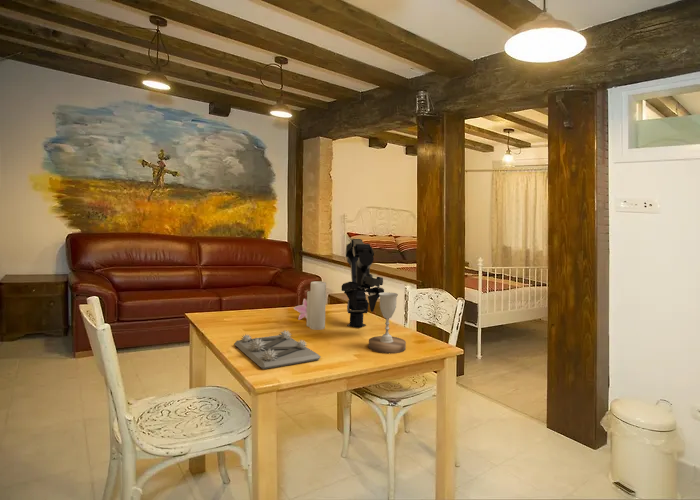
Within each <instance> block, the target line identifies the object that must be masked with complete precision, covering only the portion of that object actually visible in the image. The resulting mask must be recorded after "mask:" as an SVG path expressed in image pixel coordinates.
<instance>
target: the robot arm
mask: <svg viewBox="0 0 700 500" xmlns="http://www.w3.org/2000/svg"><path fill="white" fill-rule="evenodd" d="M374 256H375V253H374V249H373V247H372V246H371V244H370V243H364V241H363V239H361V238H351V239H350V242H349V243H348V244H347V245H346V246H345V258H346V262H347V263H348V264H349V266H350V272H351V273H350V275H351V280H350V281H347V282H344V283H342V285H341V291H342V292H343V293H344V294H345V295H346V297H347V298H348V300H347V305H346V312H347V314H349V323H348V324H347V325H346V326H347V327H351V328H356V329H361V328H362V327H363V328H364V327H366V326H367V324H366V323H364V314H367V313H368V312H369V310H370V312H371V313H373V312H374V311H375V308H376V305H377V301H378V299H380V295H379V293H383V292H385V289H384V288H383V287H381V286H382V285H383V284H384V278H383V277H382V276H377V277H376V278H375V277H374V276H373V274H372V273H371V271H370V269H371V266H372V264H373V262H374ZM366 293H367V294H368V296H366V295H367V294H366ZM366 297H367V298H368V299H367V298H366Z"/></svg>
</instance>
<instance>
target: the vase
mask: <svg viewBox="0 0 700 500" xmlns="http://www.w3.org/2000/svg"><path fill="white" fill-rule="evenodd" d="M326 294H327V282H325V281H321V280H320V281H315V280H314V281H311V282H310V290H308V291H306V300H307V319H306V327H307V328H308V327H309V329H310V330H313V331H314V330H315V331H317V330H319V331H320V330H325V328H326V298H327V295H326Z"/></svg>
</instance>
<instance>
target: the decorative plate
mask: <svg viewBox="0 0 700 500" xmlns="http://www.w3.org/2000/svg"><path fill="white" fill-rule="evenodd" d="M279 333H280V334H278V335H269V336H262V337H254V338H253V337H252V335H250V334H248V333H245V335H244V334H242V335H241V337H240V340H239V339H237V340H235V342H234V343H233V344H234V346H236V347H237V348H238V349H239V350H240V351H241V352H242V353H244V354H245V355H246V356H247V357H248V358H249V359H251V360H252V361H253V363H255V364H257V366H259V367H260V368H261V369H262V370H269V368H270V369H274V368H275V367H276V368H280V367H281V366H282V367H287V366H292V365H297V364H304V363H309V362H316V361H319V360H320V359H321V355H319V354H318V353H316V352H315V351H314V350H312V349H310V348H308V345H307V344H308V343H307V342H306V341H305V339H304V340H303V339H299V340H295V339H294V338H293V336H291V335H292V333H290V331H289V330H283V331H280V332H279Z"/></svg>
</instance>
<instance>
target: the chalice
mask: <svg viewBox="0 0 700 500" xmlns="http://www.w3.org/2000/svg"><path fill="white" fill-rule="evenodd" d="M379 295H380V297H379V308H380V311H381V314H382V317H383V318H384V319H385V327H384V329H385V333H383V334H382V335H381V336H382V337H381V340H380V341H381V342H384V343H391V342H393V339H392V337H393V336H392V335H391V334H390V333H389V330H390V327H389V326H390V319H392V317H393V315H394V313H395V312H396V309H397V298H398V295H399V293H396V292H387V291H384V292H383V293H379Z"/></svg>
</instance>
